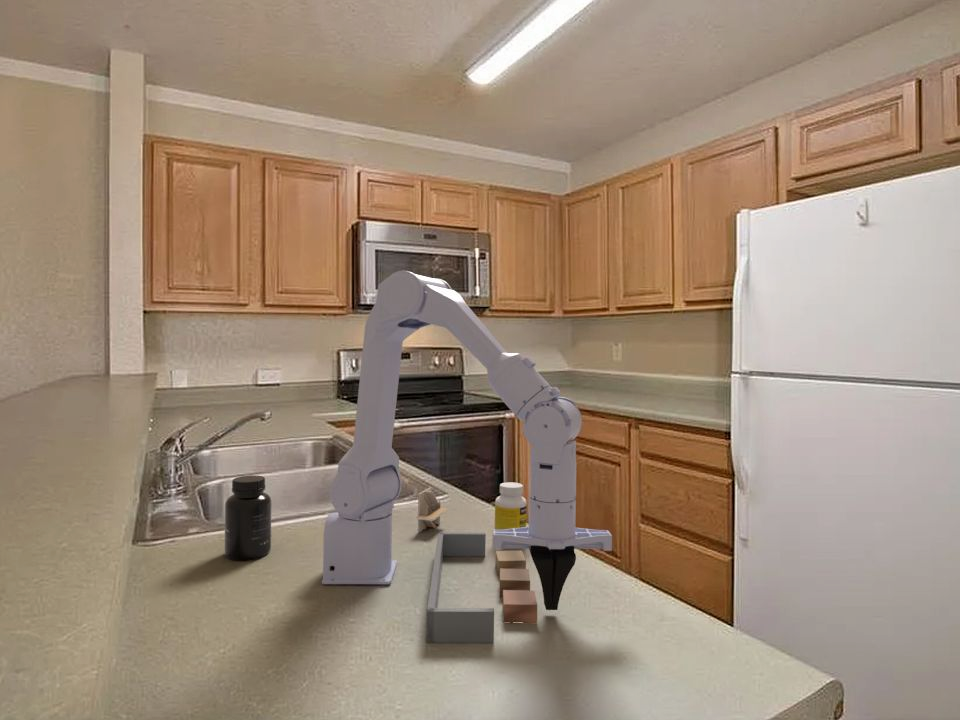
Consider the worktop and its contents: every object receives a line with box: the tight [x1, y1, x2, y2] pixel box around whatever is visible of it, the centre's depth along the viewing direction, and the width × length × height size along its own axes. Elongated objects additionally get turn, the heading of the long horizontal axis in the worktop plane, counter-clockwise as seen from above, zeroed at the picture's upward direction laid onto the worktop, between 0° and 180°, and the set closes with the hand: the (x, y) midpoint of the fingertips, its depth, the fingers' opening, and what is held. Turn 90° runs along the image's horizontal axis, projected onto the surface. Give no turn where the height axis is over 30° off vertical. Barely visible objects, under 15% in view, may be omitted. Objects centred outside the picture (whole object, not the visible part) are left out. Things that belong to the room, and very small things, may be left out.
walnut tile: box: [499, 568, 531, 598], centre depth 76 cm, size 4×4×2 cm
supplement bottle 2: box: [494, 481, 528, 530], centre depth 96 cm, size 5×5×10 cm
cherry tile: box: [502, 589, 538, 624], centre depth 69 cm, size 4×4×2 cm
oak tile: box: [495, 550, 527, 576], centre depth 83 cm, size 4×4×2 cm
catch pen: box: [426, 532, 495, 644], centre depth 76 cm, size 8×27×4 cm, turn 2°
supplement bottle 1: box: [224, 474, 272, 562], centre depth 88 cm, size 7×7×12 cm
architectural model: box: [416, 486, 448, 534], centre depth 101 cm, size 3×7×7 cm, turn 162°
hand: (550, 606), depth 69 cm, fingers closed
